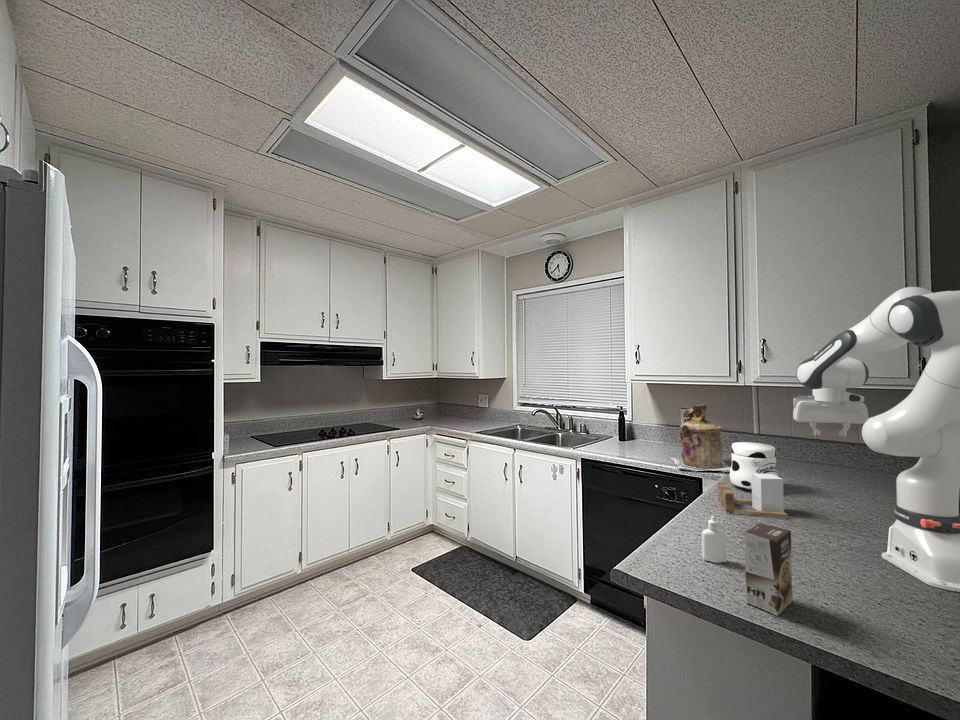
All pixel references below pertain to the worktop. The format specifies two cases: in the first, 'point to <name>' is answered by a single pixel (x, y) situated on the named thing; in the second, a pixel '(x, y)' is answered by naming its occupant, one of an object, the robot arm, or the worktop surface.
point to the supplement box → (767, 493)
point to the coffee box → (768, 568)
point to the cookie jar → (701, 442)
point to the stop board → (725, 497)
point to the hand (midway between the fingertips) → (829, 435)
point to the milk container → (751, 462)
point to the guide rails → (755, 512)
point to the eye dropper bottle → (713, 542)
